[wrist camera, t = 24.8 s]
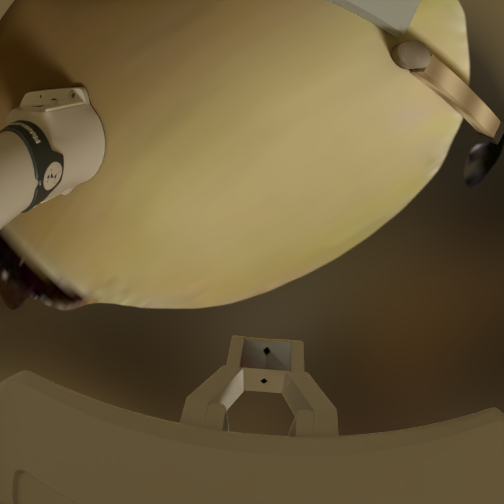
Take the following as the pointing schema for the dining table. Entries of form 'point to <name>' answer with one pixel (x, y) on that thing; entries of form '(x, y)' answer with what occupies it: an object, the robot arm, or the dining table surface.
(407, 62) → the hinged leg
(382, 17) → the stool seat
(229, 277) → the dining table surface
